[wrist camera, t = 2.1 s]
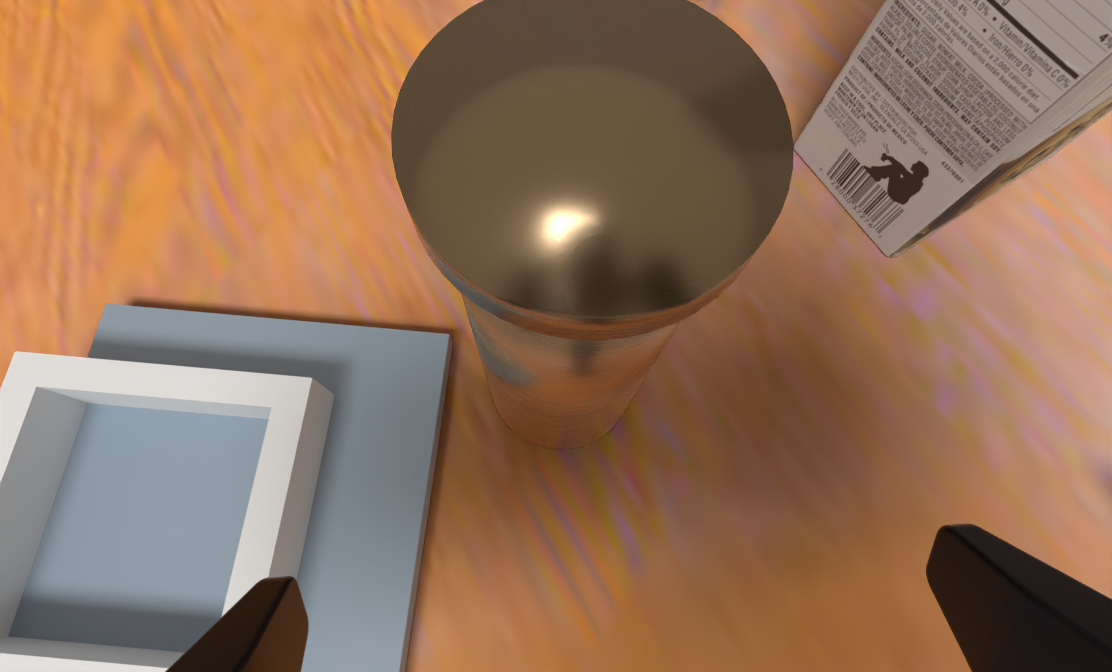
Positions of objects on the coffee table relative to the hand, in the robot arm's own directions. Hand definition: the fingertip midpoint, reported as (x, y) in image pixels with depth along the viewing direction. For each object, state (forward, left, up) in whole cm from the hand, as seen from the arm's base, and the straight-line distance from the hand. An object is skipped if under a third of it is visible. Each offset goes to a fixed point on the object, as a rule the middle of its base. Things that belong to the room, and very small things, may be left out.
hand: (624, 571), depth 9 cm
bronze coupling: (+6, +1, -12) cm, 14 cm away
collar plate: (-1, +11, -12) cm, 16 cm away
